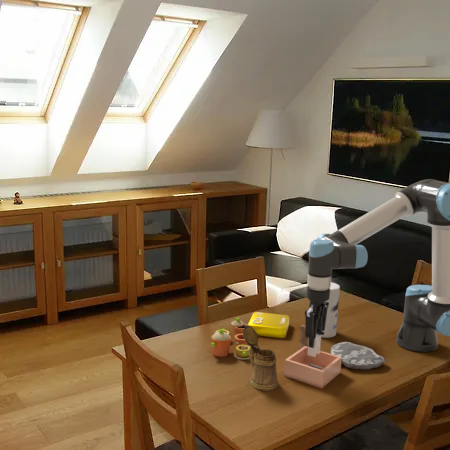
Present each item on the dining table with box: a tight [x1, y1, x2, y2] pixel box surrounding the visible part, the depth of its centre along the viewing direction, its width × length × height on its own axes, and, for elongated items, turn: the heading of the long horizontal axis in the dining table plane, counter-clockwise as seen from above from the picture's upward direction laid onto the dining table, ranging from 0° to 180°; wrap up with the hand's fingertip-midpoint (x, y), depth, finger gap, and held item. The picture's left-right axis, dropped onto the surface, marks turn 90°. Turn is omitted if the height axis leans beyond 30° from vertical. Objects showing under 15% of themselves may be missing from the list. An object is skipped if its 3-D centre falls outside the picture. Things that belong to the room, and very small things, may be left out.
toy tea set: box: [210, 317, 251, 361], centre depth 215 cm, size 26×16×10 cm, turn 0°
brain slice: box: [330, 341, 386, 370], centre depth 206 cm, size 20×17×3 cm
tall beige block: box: [298, 324, 309, 350], centre depth 206 cm, size 4×2×12 cm, turn 55°
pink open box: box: [283, 346, 342, 389], centre depth 194 cm, size 14×14×6 cm
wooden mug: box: [243, 324, 279, 391], centre depth 187 cm, size 9×14×18 cm, turn 47°
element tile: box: [247, 311, 290, 339], centre depth 232 cm, size 15×15×5 cm
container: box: [321, 281, 341, 339], centre depth 228 cm, size 10×10×20 cm
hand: (313, 353), depth 193 cm, fingers open, 2 cm apart
